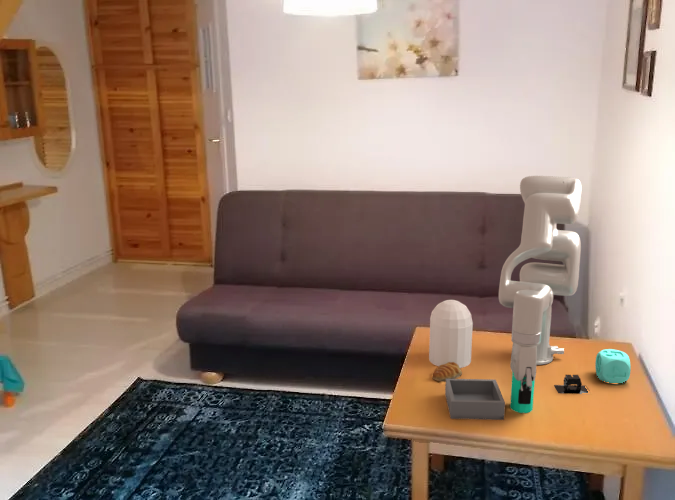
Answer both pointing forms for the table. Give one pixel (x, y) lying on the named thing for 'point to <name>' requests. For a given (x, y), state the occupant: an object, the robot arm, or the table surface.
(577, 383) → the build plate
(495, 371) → the table surface
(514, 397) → the candle
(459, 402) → the bin
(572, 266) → the robot arm
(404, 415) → the table surface
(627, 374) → the decorative dice
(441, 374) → the pastry
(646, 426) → the table surface
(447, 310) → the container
